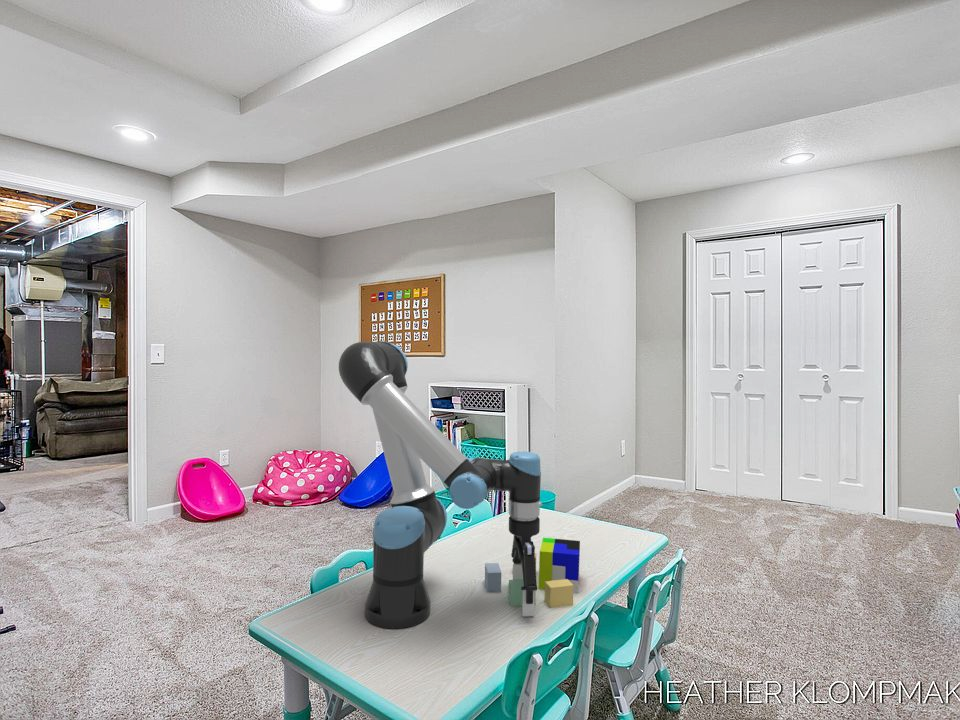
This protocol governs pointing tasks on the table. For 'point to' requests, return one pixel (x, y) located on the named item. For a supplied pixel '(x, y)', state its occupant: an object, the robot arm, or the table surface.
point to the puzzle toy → (559, 561)
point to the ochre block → (558, 593)
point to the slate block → (492, 577)
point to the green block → (516, 592)
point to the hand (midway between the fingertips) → (522, 601)
